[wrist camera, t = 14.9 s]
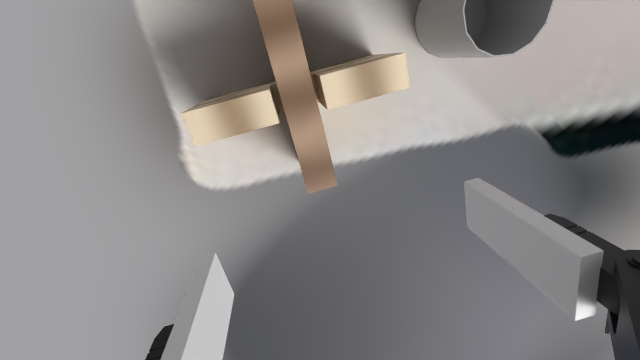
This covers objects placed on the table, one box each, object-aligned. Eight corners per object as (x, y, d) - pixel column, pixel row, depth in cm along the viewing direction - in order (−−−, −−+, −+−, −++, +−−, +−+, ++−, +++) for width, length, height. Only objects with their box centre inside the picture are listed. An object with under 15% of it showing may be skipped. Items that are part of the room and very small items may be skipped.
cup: (431, 71, 38) (481, 74, 29) (402, 5, 35) (448, -14, 26) (493, 31, 37) (564, 22, 28) (469, -39, 34) (540, -76, 25)
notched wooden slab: (215, 125, 37) (194, 146, 28) (205, 99, 36) (181, 113, 27) (377, 80, 38) (410, 87, 28) (372, 54, 36) (405, 52, 27)
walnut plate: (323, 156, 40) (337, 185, 31) (301, 162, 40) (308, 193, 31) (283, 1, 33) (286, -23, 24) (256, 8, 33) (248, -13, 24)
